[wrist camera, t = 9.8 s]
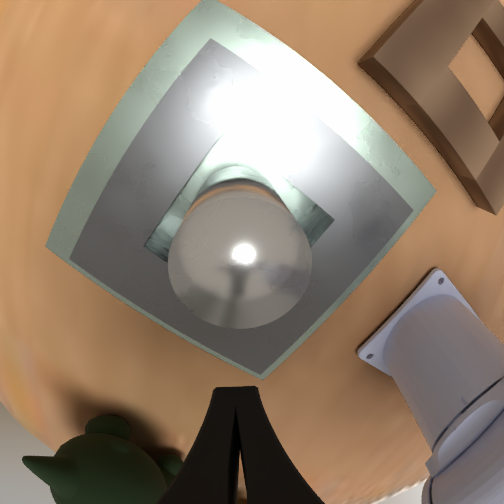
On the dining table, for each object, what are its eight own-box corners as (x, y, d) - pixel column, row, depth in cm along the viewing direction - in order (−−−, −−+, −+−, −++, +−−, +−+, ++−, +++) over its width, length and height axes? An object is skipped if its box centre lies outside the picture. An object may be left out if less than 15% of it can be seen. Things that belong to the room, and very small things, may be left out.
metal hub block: (431, 188, 16) (468, 204, 12) (261, 374, 20) (266, 414, 17) (207, -1, 11) (201, -32, 8) (50, 242, 16) (18, 267, 12)
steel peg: (281, 169, 14) (322, 203, 8) (273, 248, 16) (300, 330, 9) (197, 164, 14) (166, 193, 8) (194, 244, 16) (170, 325, 9)
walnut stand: (539, 97, 13) (556, 98, 11) (477, 206, 16) (496, 215, 14) (446, -33, 10) (462, -41, 8) (357, 63, 13) (373, 56, 11)
